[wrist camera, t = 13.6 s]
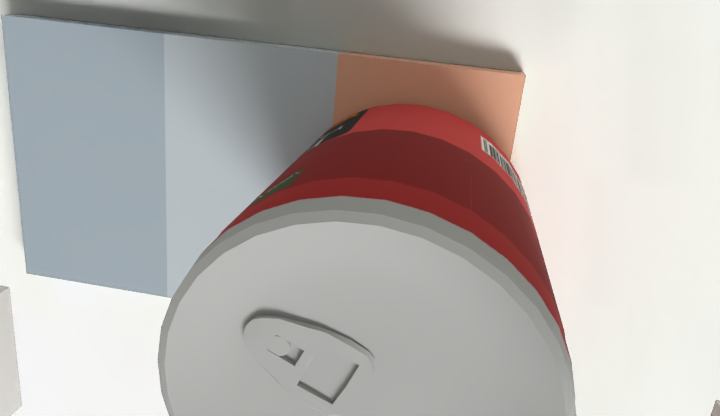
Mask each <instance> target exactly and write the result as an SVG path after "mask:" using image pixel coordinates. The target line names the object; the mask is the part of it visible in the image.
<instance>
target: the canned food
mask: <svg viewBox="0 0 720 416" xmlns="http://www.w3.org/2000/svg"><path fill="white" fill-rule="evenodd" d="M158 367H159V375H160V384H161V393H162V396H163V399H164V402H165V405H166V408H167V411H168V414H169V416H576V410H575V392H574V382H573V373H572V363H571V359H570V355H569V352H568V348H567V344H566V340H565V333H564V329H563V325H562V322H561V318H560V315H559V311H558V308H557V304H556V301H555V297H554V293H553V290H552V286H551V283H550V279H549V276H548V272H547V269H546V265H545V262H544V258H543V255H542V251H541V248H540V244H539V241H538V237H537V234H536V230H535V227H534V223H533V220H532V216H531V212H530V209H529V205H528V202H527V198H526V195H525V193H524V190H523V187H522V184H521V181H520V178H519V176H518V174H517V172H516V171H515V169H514V167H513V166H512V164H511V162H510V160H509V159H508V157H507V156H506V154H505V153H504V152H503V151H502V150H501V149H500V148H499V147H498V146H497V145H496V143H495V142H494V141H493V140H492V139H491V138H490V137H489V136H487V135H486V134H485V133H483V132H482V131H481V130H479V129H478V128H477V127H475V126H474V125H473V124H471V123H470V122H468V121H465V120H463V119H461V118H459V117H457V116H455V115H453V114H451V113H449V112H446V111H442V110H439V109H435V108H431V107H428V106H424V105H411V104H391V105H383V106H375V107H372V108H369V109H366V110H363V111H360V112H357V113H354V114H352V115H350V116H348V117H346V118H345V119H343V120H341V121H339V122H338V123H336V124H334V125H333V126H332V127H331V128H330V129H328V130H327V131H326V132H325V133H324V134H323V135H322V136H321V137H320V138H318V139H317V140H316V141H315V142H314V143H313V144H312V145H311V146H310V147H309V148H308V149H307V150H306V151H305V152H304V153H303V154H302V155H301V156H300V157H299V158H298V159H297V160H296V161H294V162H293V163H292V164H291V165H290V166H289V167H288V168H287V169H286V170H285V171H284V172H283V173H282V174H281V175H280V176H279V177H278V178H277V179H276V180H275V181H274V182H273V183H272V184H271V185H270V186H268V187H267V188H266V189H265V190H264V191H263V192H262V193H261V194H260V195H259V196H258V197H257V198H256V199H255V200H254V201H253V202H252V203H251V204H250V205H249V206H248V207H247V208H246V209H245V210H244V211H243V212H241V213H240V214H239V215H238V216H237V217H236V218H235V219H234V220H233V221H232V222H231V223H230V224H229V225H228V226H227V227H226V228H225V229H224V230H223V231H222V232H221V233H220V235H219V236H218V237H217V238H216V239H215V240H214V241H213V242H212V243H211V244H210V245H209V246H208V247H207V248H206V249H205V250H204V251H203V252H202V253H201V254H200V256H199V257H198V259H197V260H196V262H195V263H194V265H193V266H192V268H191V269H190V271H189V272H188V274H187V275H186V277H185V278H184V279H183V281H182V283H181V284H180V286H179V287H178V289H177V290H176V292H175V293H174V295H173V296H172V299H171V302H170V305H169V307H168V310H167V313H166V316H165V318H164V321H163V324H162V326H161V334H160V343H159V352H158Z"/></svg>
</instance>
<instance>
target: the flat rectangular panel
mask: <svg viewBox="0 0 720 416" xmlns="http://www.w3.org/2000/svg"><path fill="white" fill-rule="evenodd" d="M1 18H2V28H3V38H4V48H5V58H6V69H7V79H8V89H9V99H10V109H11V120H12V130H13V140H14V150H15V160H16V170H17V181H18V191H19V201H20V211H21V221H22V232H23V242H24V252H25V262H26V272H27V273H28V274H34V275H40V276H46V277H52V278H57V279H63V280H69V281H75V282H81V283H87V284H93V285H99V286H105V287H110V288H116V289H122V290H128V291H134V292H140V293H146V294H152V295H158V296H163V297H169V298H172V296H173V295H174V293H175V292H176V290H177V289H178V287H179V286H180V284H181V283H182V281H183V279H184V278H185V277H186V275H187V274H188V272H189V271H190V269H191V268H192V266H193V265H194V263H195V262H196V260H197V259H198V257H199V256H200V254H201V253H202V252H203V251H204V250H205V249H206V248H207V247H208V246H209V245H210V244H211V243H212V242H213V241H214V240H215V239H216V238H217V237H218V236H219V235H220V233H221V232H222V231H223V230H224V229H225V228H226V227H227V226H228V225H229V224H230V223H231V222H232V221H233V220H234V219H235V218H236V217H237V216H238V215H239V214H240V213H241V212H243V211H244V210H245V209H246V208H247V207H248V206H249V205H250V204H251V203H252V202H253V201H254V200H255V199H256V198H257V197H258V196H259V195H260V194H261V193H262V192H263V191H264V190H265V189H266V188H267V187H268V186H270V185H271V184H272V183H273V182H274V181H275V180H276V179H277V178H278V177H279V176H280V175H281V174H282V173H283V172H284V171H285V170H286V169H287V168H288V167H289V166H290V165H291V164H292V163H293V162H294V161H296V160H297V159H298V158H299V157H300V156H301V155H302V154H303V153H304V152H305V151H306V150H307V149H308V148H309V147H310V146H311V145H312V144H313V143H314V142H315V141H316V140H317V139H318V138H320V137H321V136H322V135H323V134H324V133H325V132H326V131H327V130H328V129H330V128H331V127H332V126H333V125H334V124H336V123H338V122H339V121H341V120H343V119H345V118H346V117H348V116H350V115H352V114H354V113H357V112H360V111H363V110H366V109H369V108H372V107H375V106H383V105H391V104H411V105H424V106H428V107H431V108H435V109H439V110H442V111H446V112H449V113H451V114H453V115H455V116H457V117H459V118H461V119H463V120H465V121H468V122H470V123H471V124H473V125H474V126H475V127H477V128H478V129H479V130H481V131H482V132H483V133H485V134H486V135H487V136H489V137H490V138H491V139H492V140H493V141H494V142H495V143H496V145H497V146H498V147H499V148H500V149H501V150H502V151H503V152H504V153H505V154H506V156H507V157H508V159H509V160H510V159H511V154H512V148H513V143H514V137H515V132H516V126H517V121H518V115H519V110H520V104H521V99H522V93H523V88H524V82H525V77H526V75H525V74H524V72H515V71H506V70H498V69H489V68H480V67H472V66H463V65H454V64H446V63H437V62H428V61H420V60H411V59H402V58H394V57H385V56H376V55H367V54H359V53H350V52H341V51H333V50H324V49H315V48H307V47H298V46H289V45H281V44H272V43H263V42H255V41H246V40H237V39H229V38H220V37H211V36H202V35H194V34H185V33H176V32H168V31H159V30H150V29H142V28H133V27H124V26H116V25H107V24H98V23H90V22H81V21H72V20H64V19H55V18H46V17H37V16H29V15H20V14H10V15H1Z"/></svg>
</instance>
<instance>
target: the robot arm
mask: <svg viewBox="0 0 720 416" xmlns="http://www.w3.org/2000/svg"><path fill="white" fill-rule="evenodd" d="M20 406H22V401H21V392H20V382H19V373H18V364H17V354H16V345H15V336H14V326H13V317H12V308H11V298H10V289H9V287H6V286H0V416H11V415H12V414H13V413H14V412H15V411H16V410H17V409H18V408H19V407H20ZM711 416H720V401H719V400H716V401H715V404H714V407H713V410H712V413H711Z"/></svg>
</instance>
